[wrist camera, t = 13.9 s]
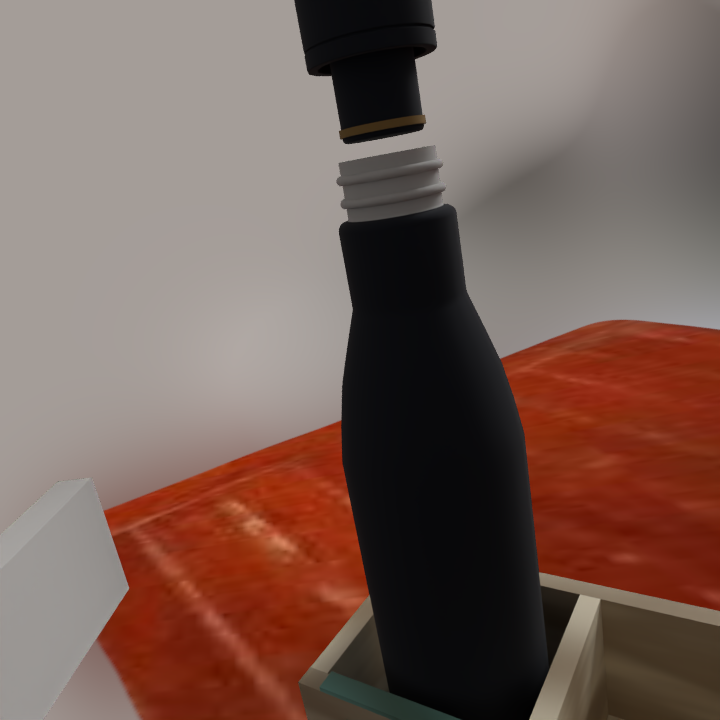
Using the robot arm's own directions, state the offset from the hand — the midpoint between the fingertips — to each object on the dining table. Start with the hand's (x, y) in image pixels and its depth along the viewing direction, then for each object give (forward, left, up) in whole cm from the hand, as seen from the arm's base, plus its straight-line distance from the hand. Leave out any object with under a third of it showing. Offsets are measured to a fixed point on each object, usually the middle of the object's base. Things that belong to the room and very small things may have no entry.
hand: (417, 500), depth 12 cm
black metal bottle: (-8, -4, -18) cm, 20 cm away
